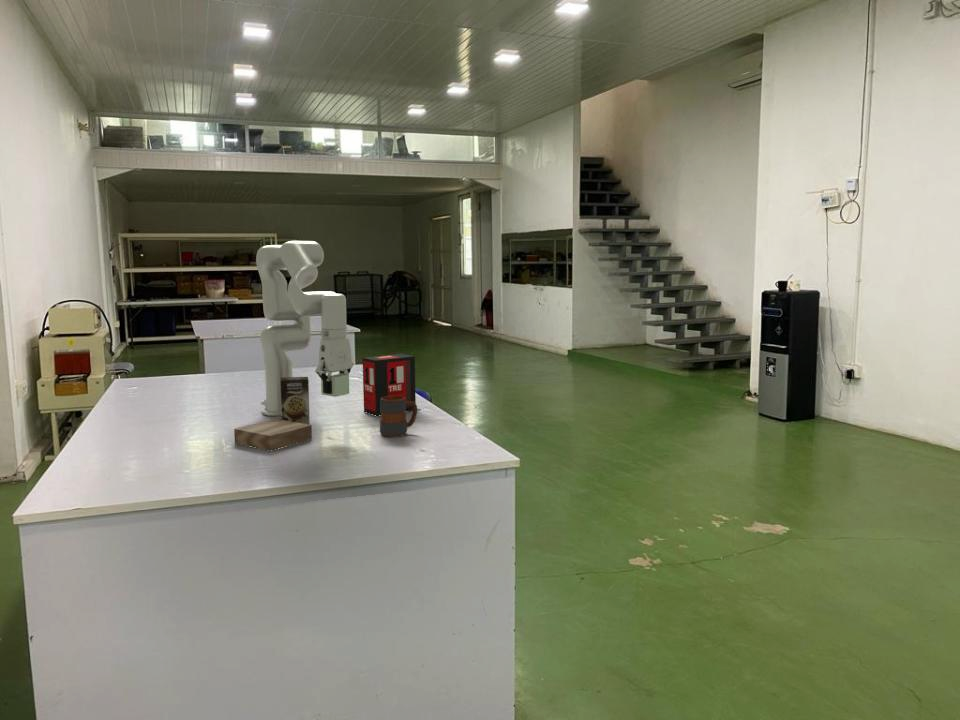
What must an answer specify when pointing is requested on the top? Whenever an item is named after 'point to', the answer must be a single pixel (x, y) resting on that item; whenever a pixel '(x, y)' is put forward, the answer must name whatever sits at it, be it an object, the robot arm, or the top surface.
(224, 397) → the top surface
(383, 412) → the mug
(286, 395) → the coffee box
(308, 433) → the walnut block
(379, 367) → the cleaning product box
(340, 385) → the sage cube
